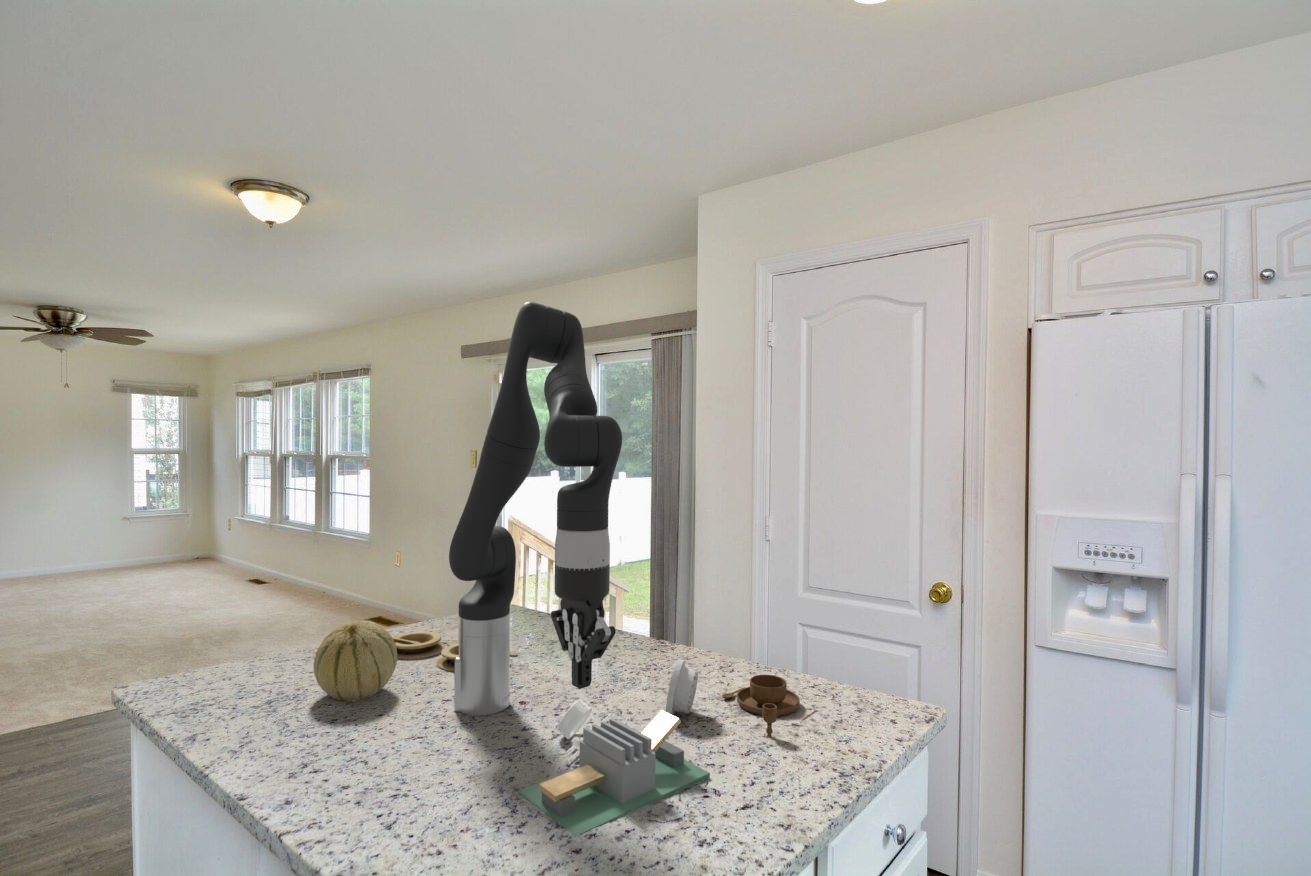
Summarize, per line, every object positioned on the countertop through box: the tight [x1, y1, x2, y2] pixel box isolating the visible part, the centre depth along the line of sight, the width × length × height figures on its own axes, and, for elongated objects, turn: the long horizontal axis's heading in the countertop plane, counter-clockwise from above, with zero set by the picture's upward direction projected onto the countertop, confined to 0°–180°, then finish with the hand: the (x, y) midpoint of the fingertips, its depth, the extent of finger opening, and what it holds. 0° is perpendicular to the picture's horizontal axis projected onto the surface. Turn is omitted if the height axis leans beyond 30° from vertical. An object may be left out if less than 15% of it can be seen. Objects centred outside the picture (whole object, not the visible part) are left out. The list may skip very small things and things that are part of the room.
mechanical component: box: [665, 658, 699, 716], centre depth 125 cm, size 10×4×10 cm, turn 168°
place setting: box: [722, 674, 818, 738], centre depth 128 cm, size 18×20×6 cm
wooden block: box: [640, 709, 682, 753], centre depth 104 cm, size 8×4×1 cm, turn 131°
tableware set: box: [391, 630, 518, 673], centre depth 157 cm, size 30×20×6 cm, turn 62°
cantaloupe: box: [313, 620, 398, 702], centre depth 132 cm, size 15×15×15 cm
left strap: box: [539, 765, 605, 802], centre depth 94 cm, size 8×4×1 cm, turn 131°
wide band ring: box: [547, 699, 628, 766], centre depth 114 cm, size 18×10×6 cm
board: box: [517, 717, 711, 837], centre depth 99 cm, size 24×14×8 cm, turn 131°
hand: (581, 685), depth 95 cm, fingers closed
